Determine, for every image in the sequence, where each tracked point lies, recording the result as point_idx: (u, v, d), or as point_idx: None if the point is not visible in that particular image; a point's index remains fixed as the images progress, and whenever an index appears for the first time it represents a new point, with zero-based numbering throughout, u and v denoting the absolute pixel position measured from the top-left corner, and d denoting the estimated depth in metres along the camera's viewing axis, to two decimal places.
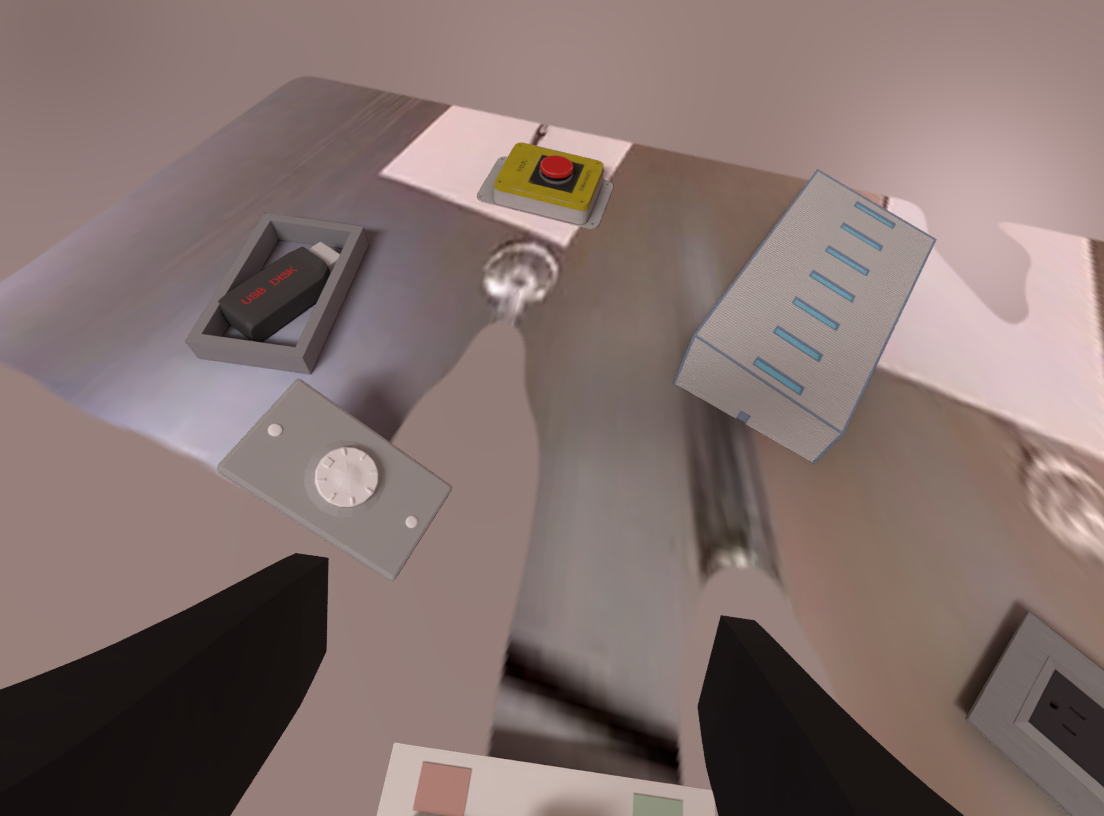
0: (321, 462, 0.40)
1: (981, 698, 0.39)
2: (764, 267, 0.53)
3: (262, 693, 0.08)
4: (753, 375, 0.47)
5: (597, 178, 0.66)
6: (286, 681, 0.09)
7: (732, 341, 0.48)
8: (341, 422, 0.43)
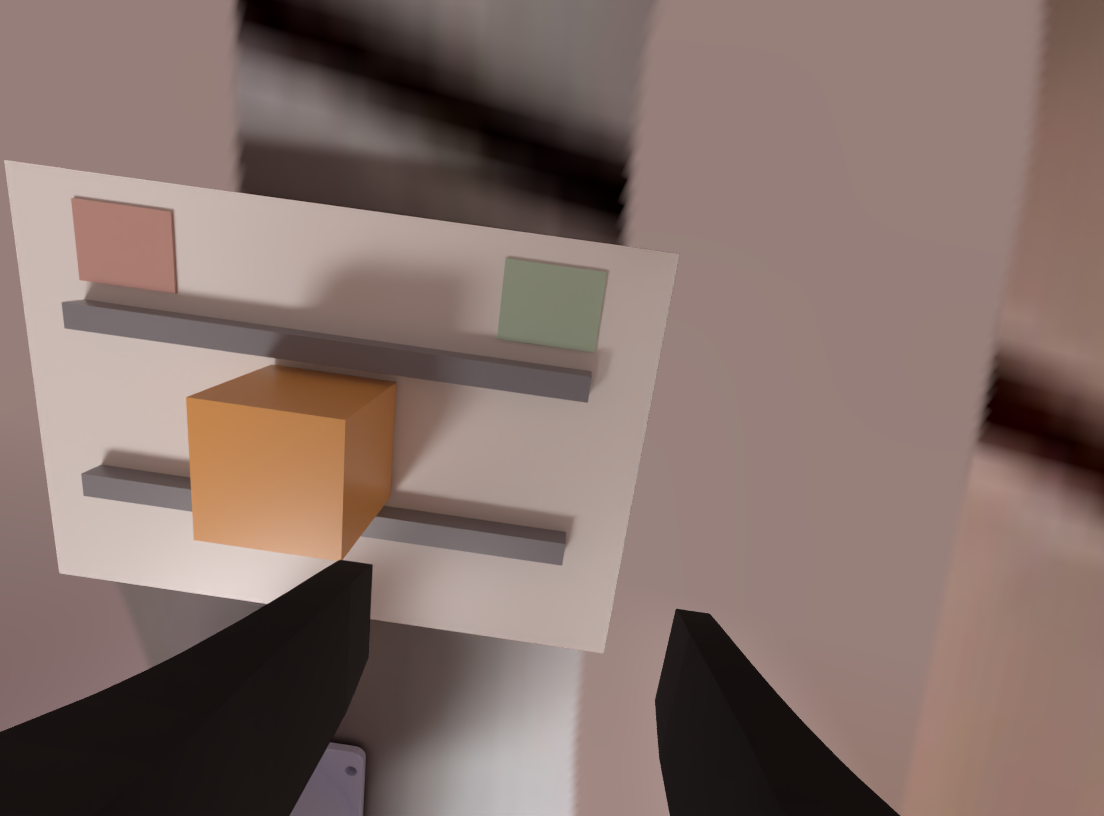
0: None
1: None
2: None
3: (315, 700, 0.08)
4: None
5: None
6: (335, 689, 0.09)
7: None
8: None
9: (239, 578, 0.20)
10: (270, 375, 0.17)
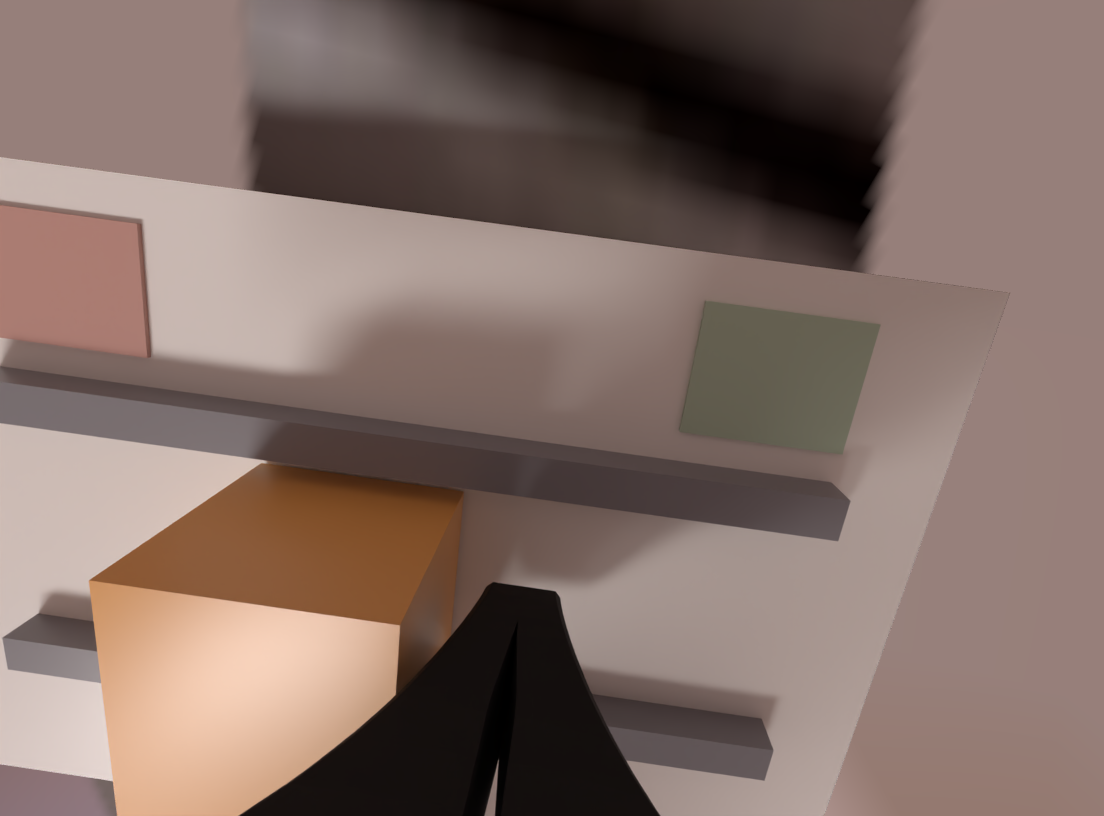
0: None
1: None
2: None
3: (498, 728, 0.08)
4: None
5: None
6: (504, 714, 0.09)
7: None
8: None
9: None
10: (258, 493, 0.10)
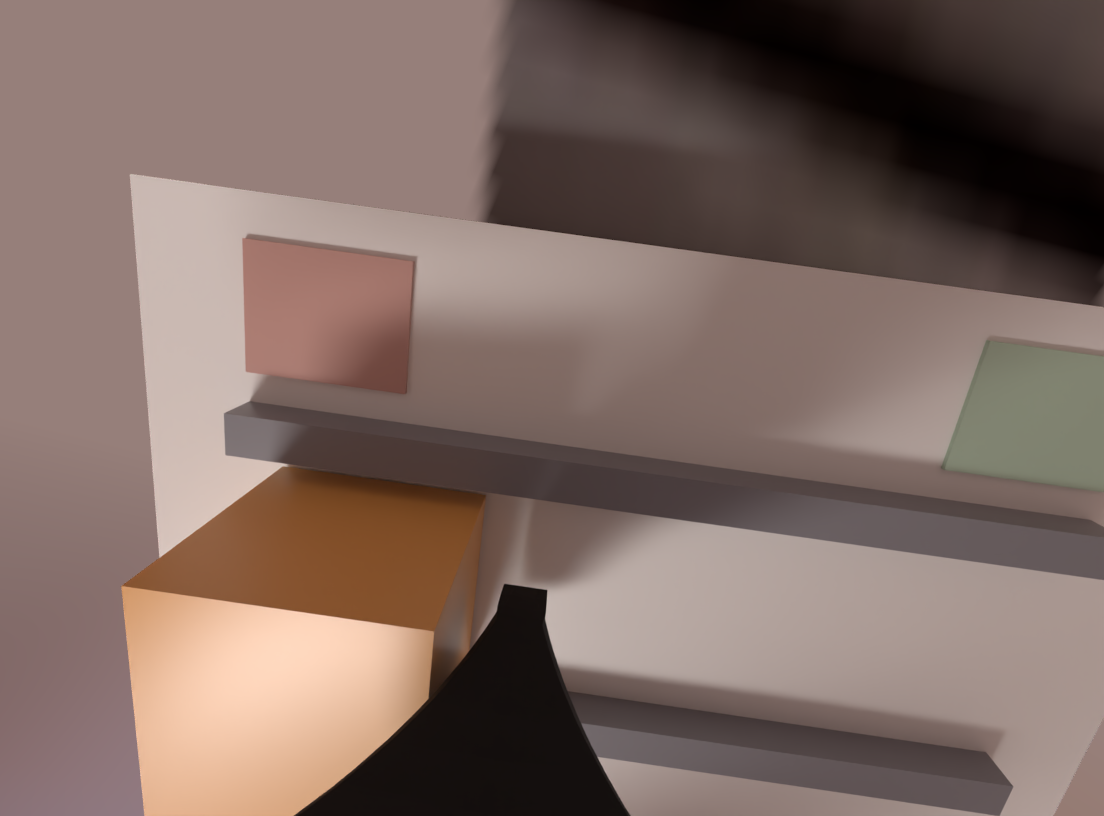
0: None
1: None
2: None
3: None
4: None
5: None
6: None
7: None
8: None
9: None
10: (282, 497, 0.10)
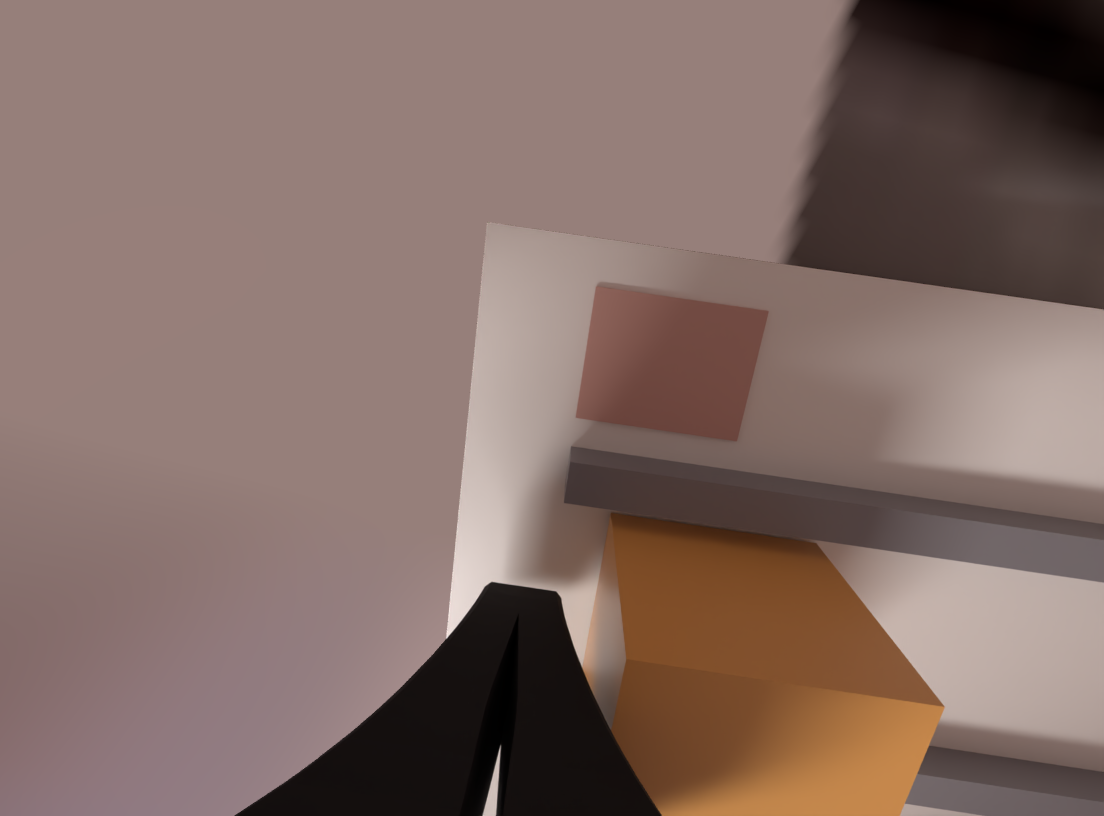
0: None
1: None
2: None
3: (496, 727, 0.08)
4: None
5: None
6: (503, 713, 0.09)
7: None
8: None
9: None
10: (648, 549, 0.10)
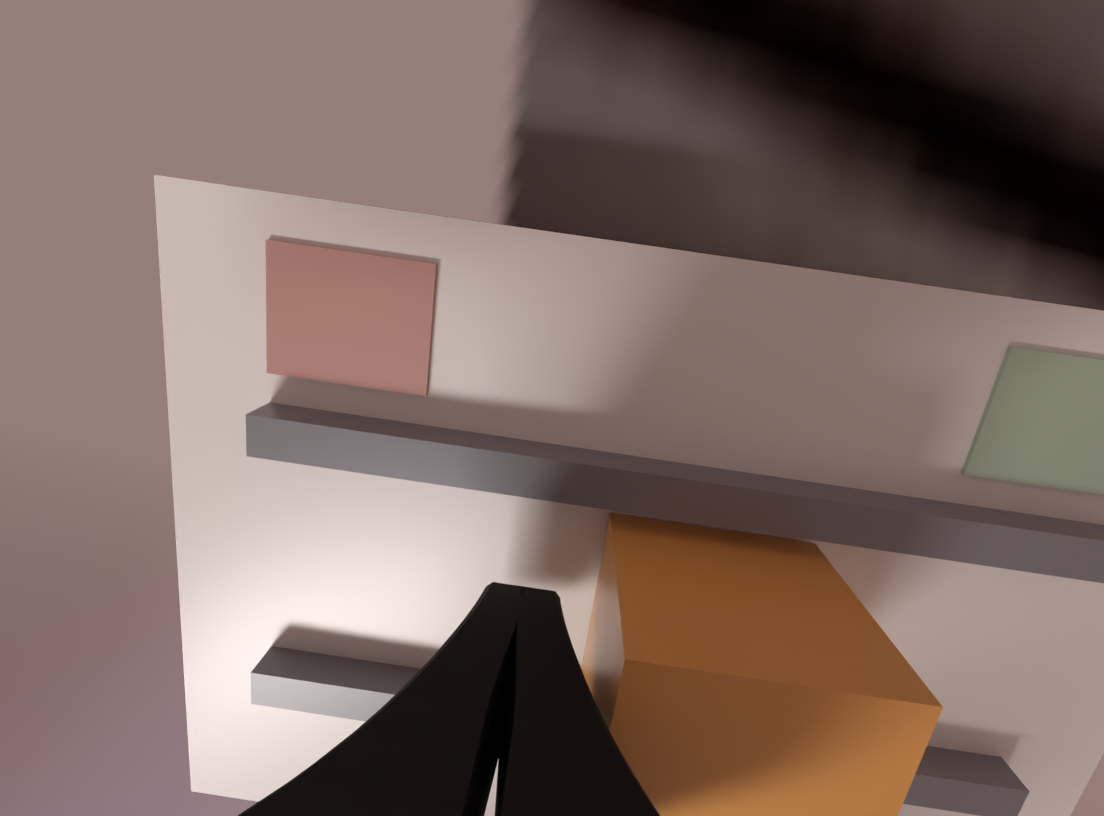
0: None
1: None
2: None
3: (497, 727, 0.08)
4: None
5: None
6: (504, 713, 0.09)
7: None
8: None
9: None
10: (647, 549, 0.10)
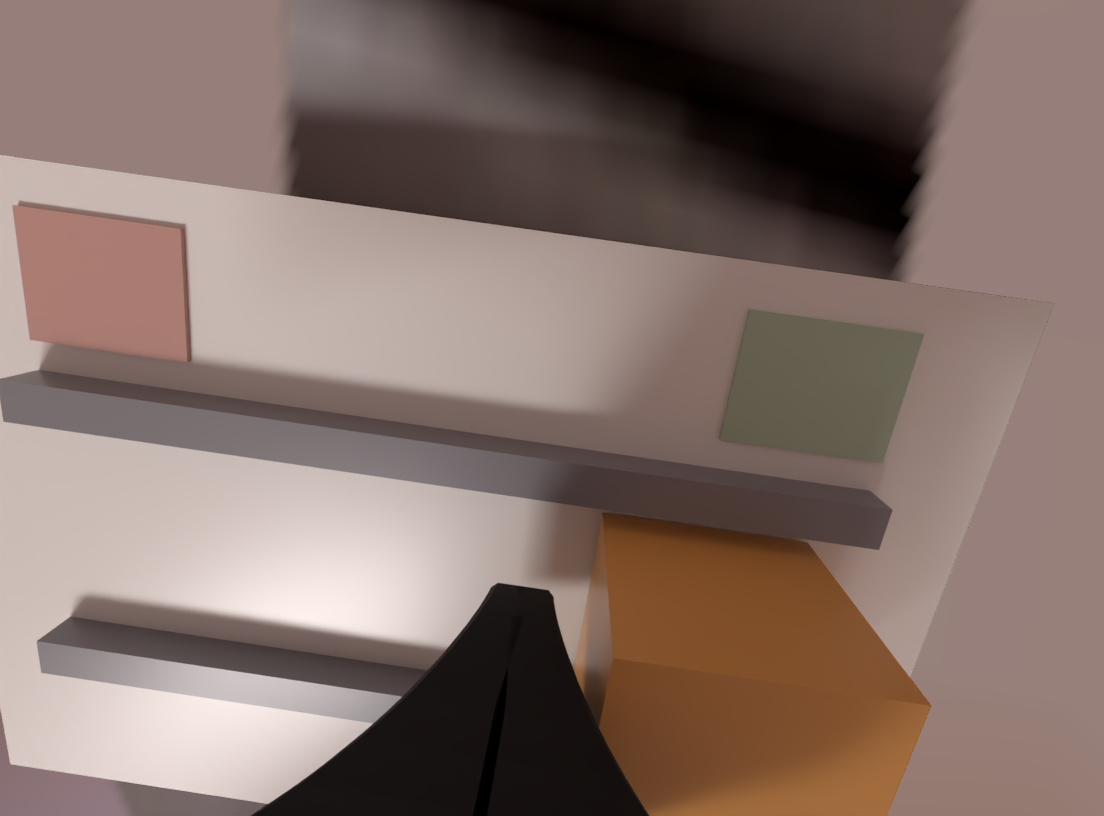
0: None
1: None
2: None
3: None
4: None
5: None
6: None
7: None
8: None
9: (280, 777, 0.13)
10: (639, 549, 0.10)
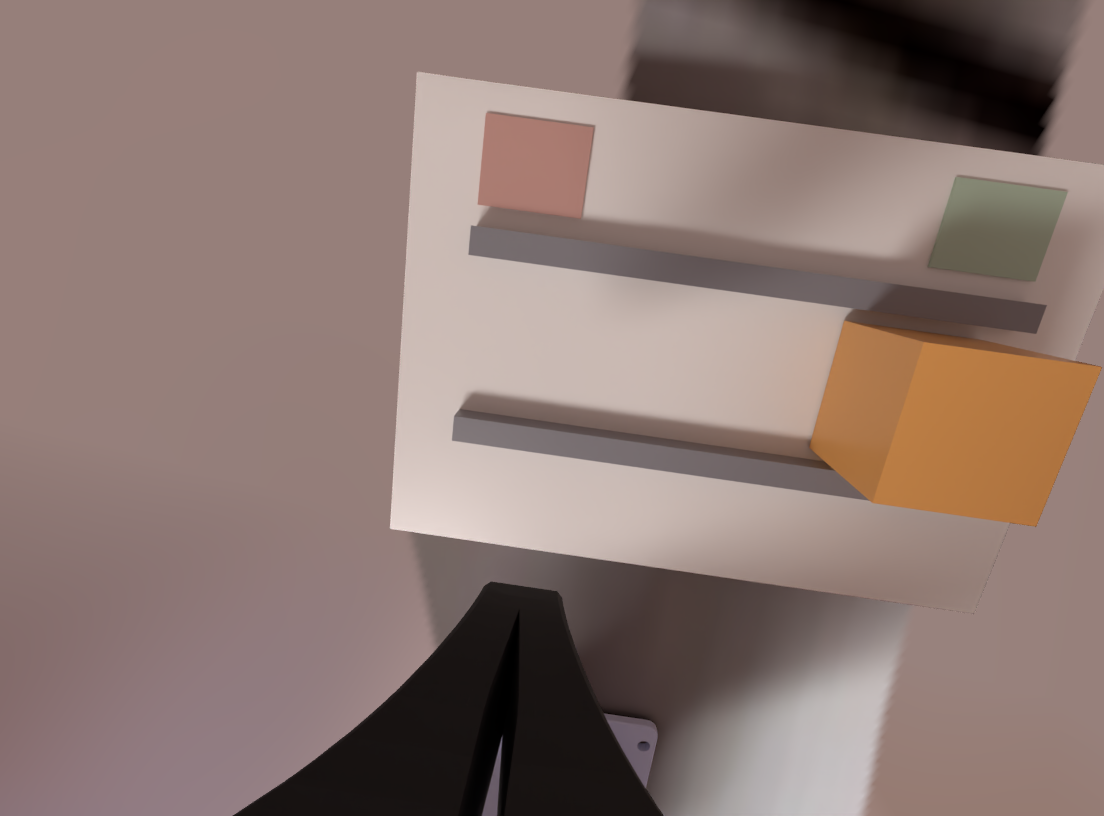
0: None
1: None
2: None
3: (495, 727, 0.08)
4: None
5: None
6: (502, 713, 0.09)
7: None
8: None
9: (587, 534, 0.19)
10: (885, 329, 0.15)
